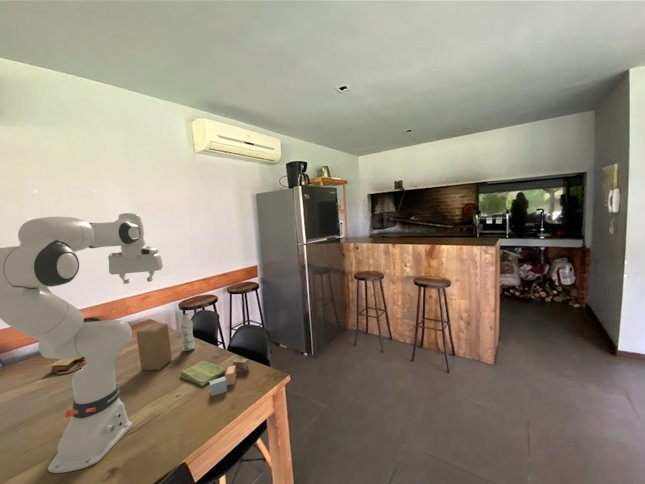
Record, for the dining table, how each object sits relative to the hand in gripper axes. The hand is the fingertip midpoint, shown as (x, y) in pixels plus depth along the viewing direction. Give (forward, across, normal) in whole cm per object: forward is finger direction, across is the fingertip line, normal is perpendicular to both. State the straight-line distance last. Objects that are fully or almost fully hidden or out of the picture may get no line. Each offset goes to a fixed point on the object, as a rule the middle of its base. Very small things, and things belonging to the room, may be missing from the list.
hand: (138, 282), depth 120 cm
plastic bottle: (+45, +8, +26) cm, 53 cm away
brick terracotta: (+46, +37, -10) cm, 59 cm away
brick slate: (+46, +33, -17) cm, 59 cm away
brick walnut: (+45, +40, -3) cm, 61 cm away
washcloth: (+46, +23, -2) cm, 52 cm away
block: (+45, -3, +13) cm, 47 cm away
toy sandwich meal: (+46, -48, +23) cm, 70 cm away
